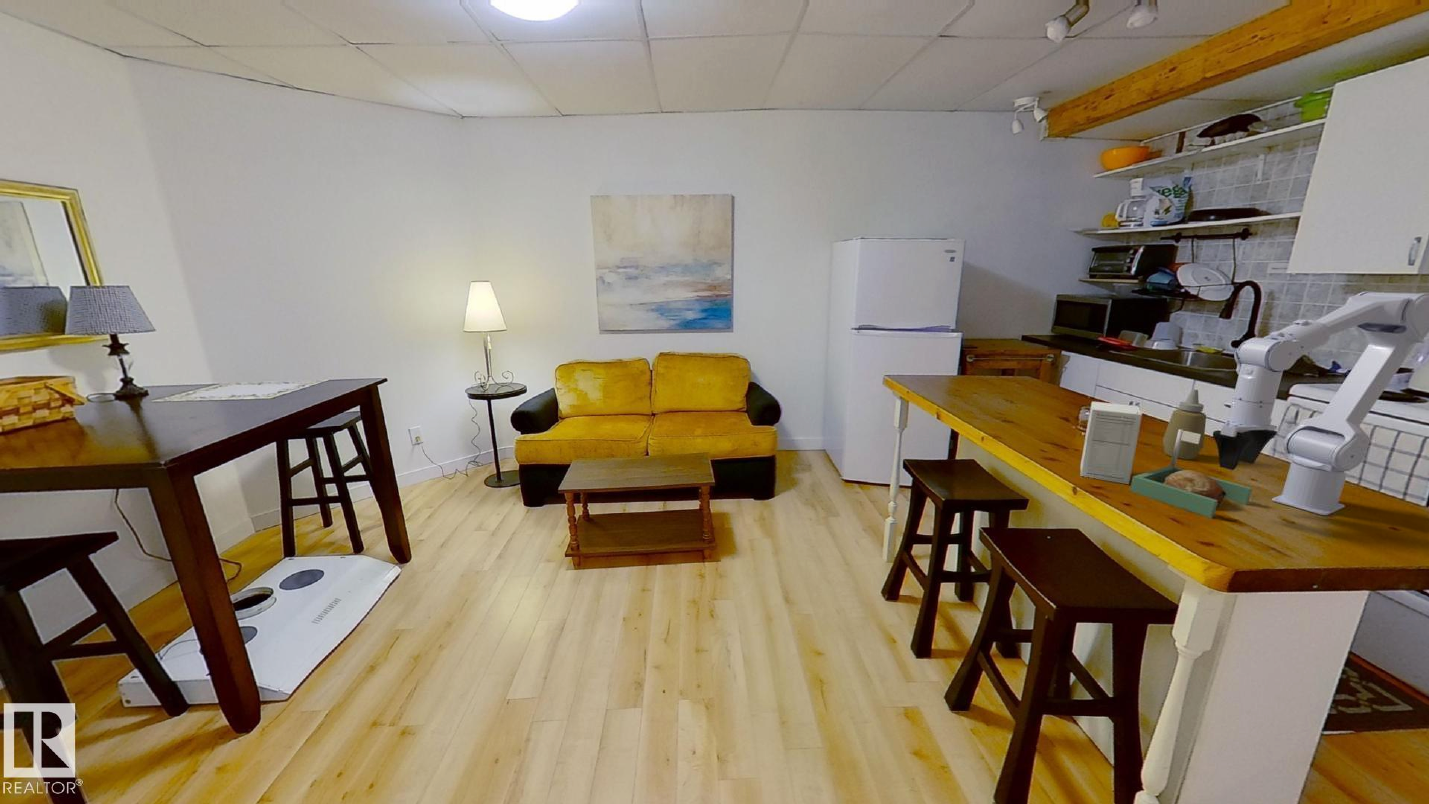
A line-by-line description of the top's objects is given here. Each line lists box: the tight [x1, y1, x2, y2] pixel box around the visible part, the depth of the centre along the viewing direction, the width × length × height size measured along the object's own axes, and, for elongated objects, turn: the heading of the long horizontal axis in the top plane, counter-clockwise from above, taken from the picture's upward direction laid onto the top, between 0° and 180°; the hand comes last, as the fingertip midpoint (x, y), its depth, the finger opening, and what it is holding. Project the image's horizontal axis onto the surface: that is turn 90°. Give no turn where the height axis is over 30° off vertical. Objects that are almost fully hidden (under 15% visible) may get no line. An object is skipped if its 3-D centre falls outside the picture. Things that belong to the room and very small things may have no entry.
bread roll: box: [1163, 469, 1226, 508], centre depth 111 cm, size 10×10×8 cm
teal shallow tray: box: [1129, 429, 1253, 519], centre depth 110 cm, size 15×14×12 cm
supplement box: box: [1079, 401, 1143, 485], centre depth 122 cm, size 10×9×17 cm
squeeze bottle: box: [1162, 388, 1207, 460], centre depth 134 cm, size 8×8×18 cm
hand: (1236, 465), depth 104 cm, fingers open, 7 cm apart
